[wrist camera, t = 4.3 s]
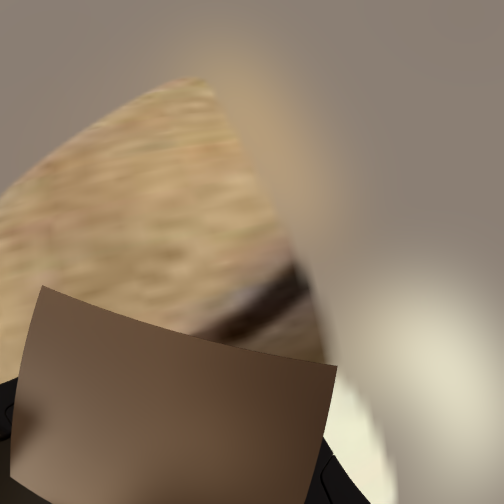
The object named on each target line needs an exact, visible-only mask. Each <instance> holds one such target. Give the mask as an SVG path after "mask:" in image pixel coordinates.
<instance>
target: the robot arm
mask: <svg viewBox="0 0 504 504" xmlns="http://www.w3.org/2000/svg"><path fill="white" fill-rule="evenodd" d="M17 382H18V377H17V378H14V379H12V380H10V381H7V382H5V383H2V384H0V504H52V503H50V502H49V501H47V500H45V499H44V498H42V497H40V496H39V495H37V494H35V493H34V492H32V491H31V490H29V489H28V488H26V487H25V486H23V485H22V484H20V483H19V482H17V481H16V480H14V479H13V478H12V477H10V450H11V432H12V420H13V410H14V402H15V395H16V388H17ZM304 504H371V503H370V502H369V501H368V500H367V498H366V497H365V496H364V495H363V494H362V493H361V491H360V490H359V489H358V488H357V487H356V485H355V484H354V483H353V481H352V480H351V479H350V478H349V476H348V475H347V473H346V472H345V470H344V469H343V467H342V466H341V464H340V463H339V461H338V460H337V458H336V456H335V455H333V452H332V450H331V449H330V447H329V445H328V444H327V442H326V440H325V439H324V437H323V438H322V442H321V446H320V450H319V454H318V458H317V462H316V465H315V469H314V472H313V476H312V479H311V483H310V486H309V489H308V493H307V496H306V499H305V502H304Z"/></svg>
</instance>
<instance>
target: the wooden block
mask: <svg viewBox="0 0 504 504" xmlns="http://www.w3.org/2000/svg"><path fill="white" fill-rule="evenodd" d="M336 372H337V366H334V365H327V364H321V363H314V362H308V361H302V360H297V359H291V358H286V357H280V356H275V355H270V354H265V353H261V352H256V351H251V350H247V349H242V348H238V347H233V346H229V345H225V344H221V343H216V342H212V341H208V340H205V339H201V338H197V337H193V336H189V335H186V334H182V333H178V332H175V331H171V330H168V329H164V328H161V327H158V326H154V325H151V324H148V323H145V322H141V321H138V320H135V319H132V318H129V317H126V316H123V315H120V314H117V313H114V312H111V311H108V310H105V309H102V308H99V307H97V306H94V305H91V304H88V303H86V302H83V301H80V300H78V299H75V298H72V297H70V296H67V295H65V294H62V293H60V292H57V291H55V290H52V289H50V288H47V287H45V286H43V285H42V287H41V290H40V293H39V296H38V300H37V303H36V306H35V309H34V313H33V316H32V320H31V323H30V327H29V331H28V335H27V339H26V343H25V347H24V351H23V356H22V361H21V366H20V371H19V376H18V382H17V388H16V395H15V402H14V410H13V420H12V432H11V450H10V477H12V478H13V479H14V480H16V481H17V482H19V483H20V484H22V485H23V486H25V487H26V488H28V489H29V490H31V491H32V492H34V493H35V494H37V495H39V496H40V497H42V498H44V499H45V500H47V501H49V502H50V503H52V504H304V502H305V499H306V496H307V493H308V489H309V486H310V483H311V479H312V476H313V472H314V469H315V465H316V462H317V458H318V454H319V450H320V446H321V442H322V438H323V434H324V430H325V426H326V421H327V417H328V412H329V408H330V403H331V398H332V393H333V388H334V383H335V377H336Z"/></svg>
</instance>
